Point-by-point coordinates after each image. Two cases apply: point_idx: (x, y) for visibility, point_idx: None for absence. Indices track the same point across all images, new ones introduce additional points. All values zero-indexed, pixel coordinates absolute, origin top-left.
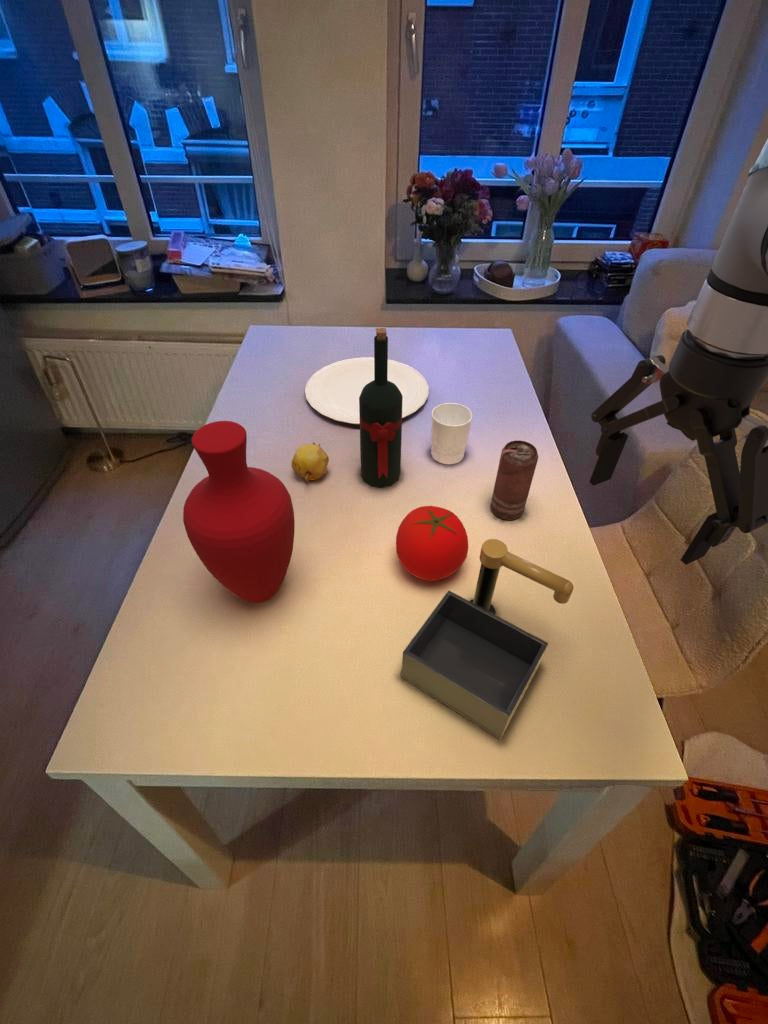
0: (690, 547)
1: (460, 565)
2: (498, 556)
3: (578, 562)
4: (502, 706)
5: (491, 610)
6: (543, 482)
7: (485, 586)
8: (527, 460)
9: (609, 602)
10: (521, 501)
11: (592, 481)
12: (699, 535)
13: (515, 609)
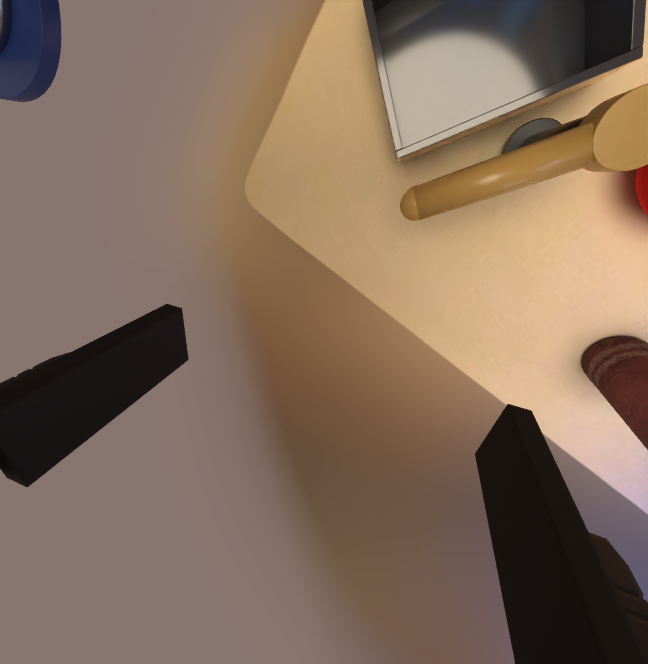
0: (135, 331)
1: (640, 173)
2: (610, 114)
3: (458, 344)
4: (398, 51)
5: None
6: (583, 432)
7: (567, 123)
8: None
9: (395, 318)
10: (605, 374)
11: (522, 415)
12: (80, 359)
13: (485, 214)
